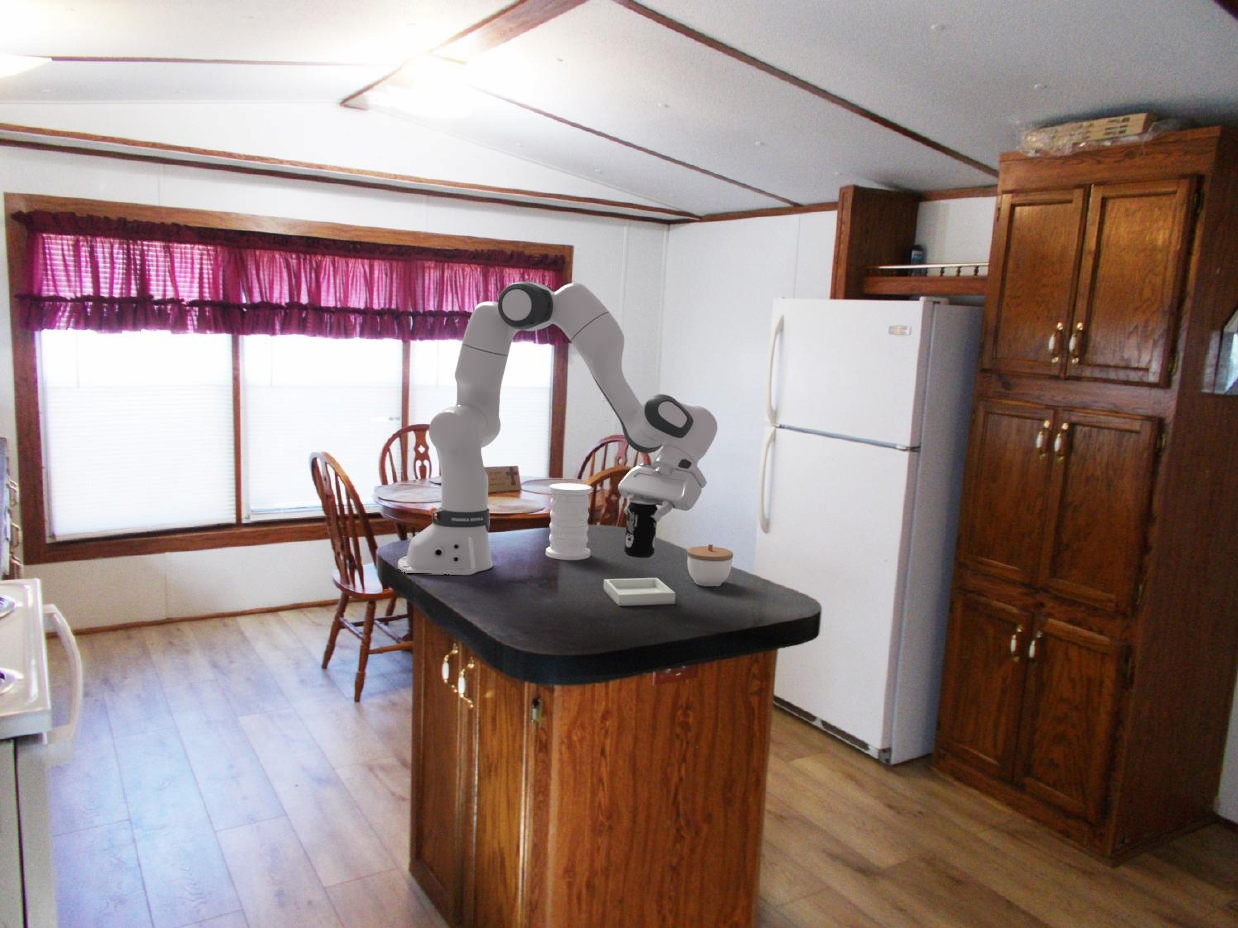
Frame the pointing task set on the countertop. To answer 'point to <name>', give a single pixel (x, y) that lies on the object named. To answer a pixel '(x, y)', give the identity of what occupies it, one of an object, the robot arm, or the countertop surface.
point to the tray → (639, 591)
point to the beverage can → (640, 529)
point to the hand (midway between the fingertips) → (640, 516)
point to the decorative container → (569, 521)
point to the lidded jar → (709, 564)
